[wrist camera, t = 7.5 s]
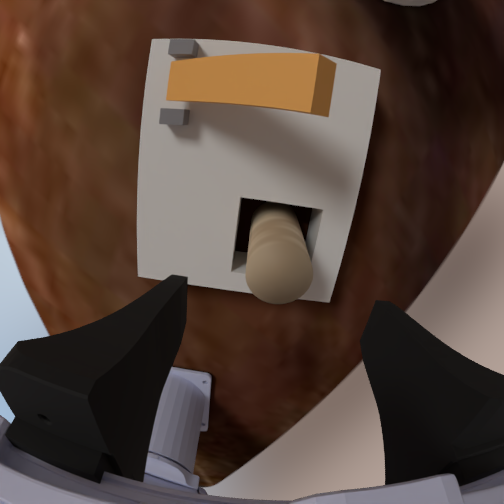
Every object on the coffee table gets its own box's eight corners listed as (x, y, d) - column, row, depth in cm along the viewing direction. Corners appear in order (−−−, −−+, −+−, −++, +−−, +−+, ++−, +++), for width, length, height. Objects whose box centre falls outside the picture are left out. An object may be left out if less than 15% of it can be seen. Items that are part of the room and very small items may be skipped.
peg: (302, 205, 20) (320, 250, 13) (292, 247, 21) (304, 307, 15) (255, 196, 20) (251, 239, 13) (247, 240, 21) (240, 299, 14)
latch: (328, 117, 10) (310, 112, 9) (185, 101, 14) (165, 100, 13) (336, 63, 9) (319, 53, 8) (190, 64, 13) (171, 61, 13)
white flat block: (321, 278, 22) (332, 313, 18) (152, 255, 22) (131, 285, 18) (363, 75, 16) (389, 67, 12) (167, 49, 16) (144, 34, 12)
